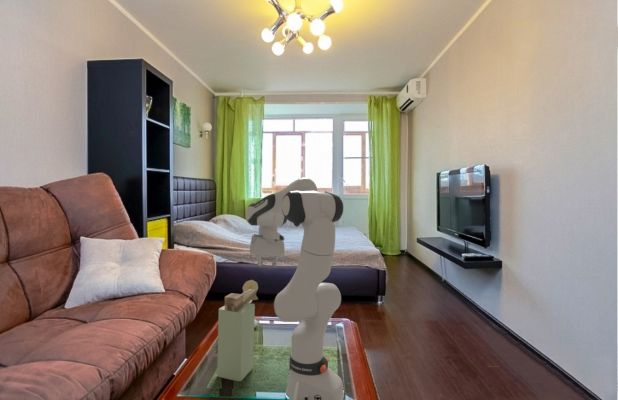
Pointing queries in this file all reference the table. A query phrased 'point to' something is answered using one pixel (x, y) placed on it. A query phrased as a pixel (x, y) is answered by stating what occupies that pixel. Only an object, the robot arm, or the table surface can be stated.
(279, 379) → the table surface
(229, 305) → the block
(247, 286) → the flower in vase
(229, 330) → the pedestal
